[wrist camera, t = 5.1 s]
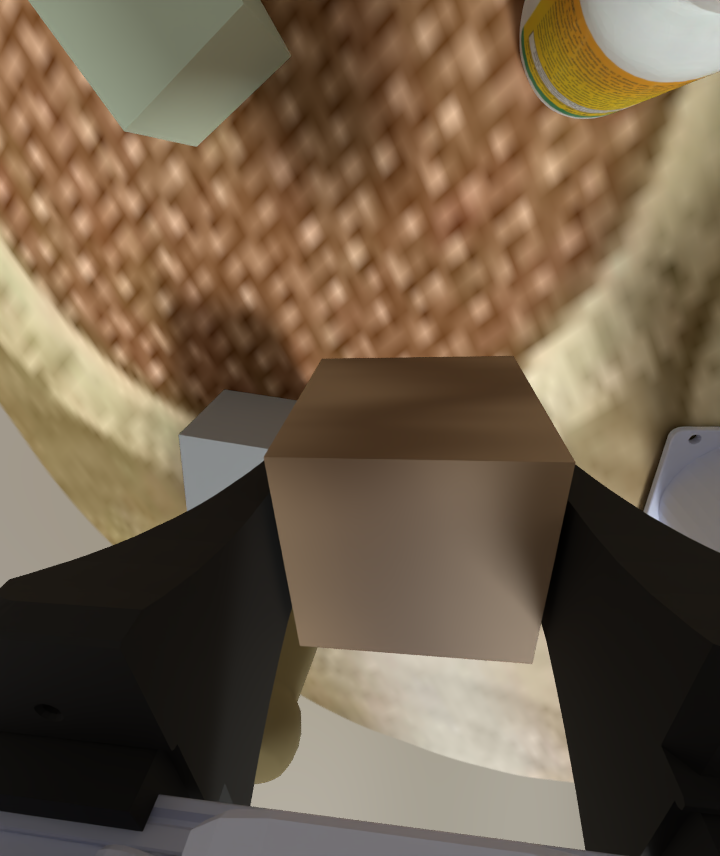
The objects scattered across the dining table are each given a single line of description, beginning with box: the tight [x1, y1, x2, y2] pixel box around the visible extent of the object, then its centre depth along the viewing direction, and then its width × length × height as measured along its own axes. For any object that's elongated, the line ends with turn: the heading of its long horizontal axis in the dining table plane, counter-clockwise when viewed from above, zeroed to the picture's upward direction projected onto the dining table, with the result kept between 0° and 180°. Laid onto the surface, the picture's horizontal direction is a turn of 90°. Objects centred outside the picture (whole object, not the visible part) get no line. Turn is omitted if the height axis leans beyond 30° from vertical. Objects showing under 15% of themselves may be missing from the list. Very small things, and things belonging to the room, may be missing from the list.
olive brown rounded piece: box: [254, 608, 318, 784], centre depth 24 cm, size 6×6×11 cm
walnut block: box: [264, 356, 575, 664], centre depth 10 cm, size 5×5×5 cm
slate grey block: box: [179, 389, 297, 511], centre depth 22 cm, size 5×5×5 cm
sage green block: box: [29, 0, 292, 147], centre depth 14 cm, size 5×5×5 cm
